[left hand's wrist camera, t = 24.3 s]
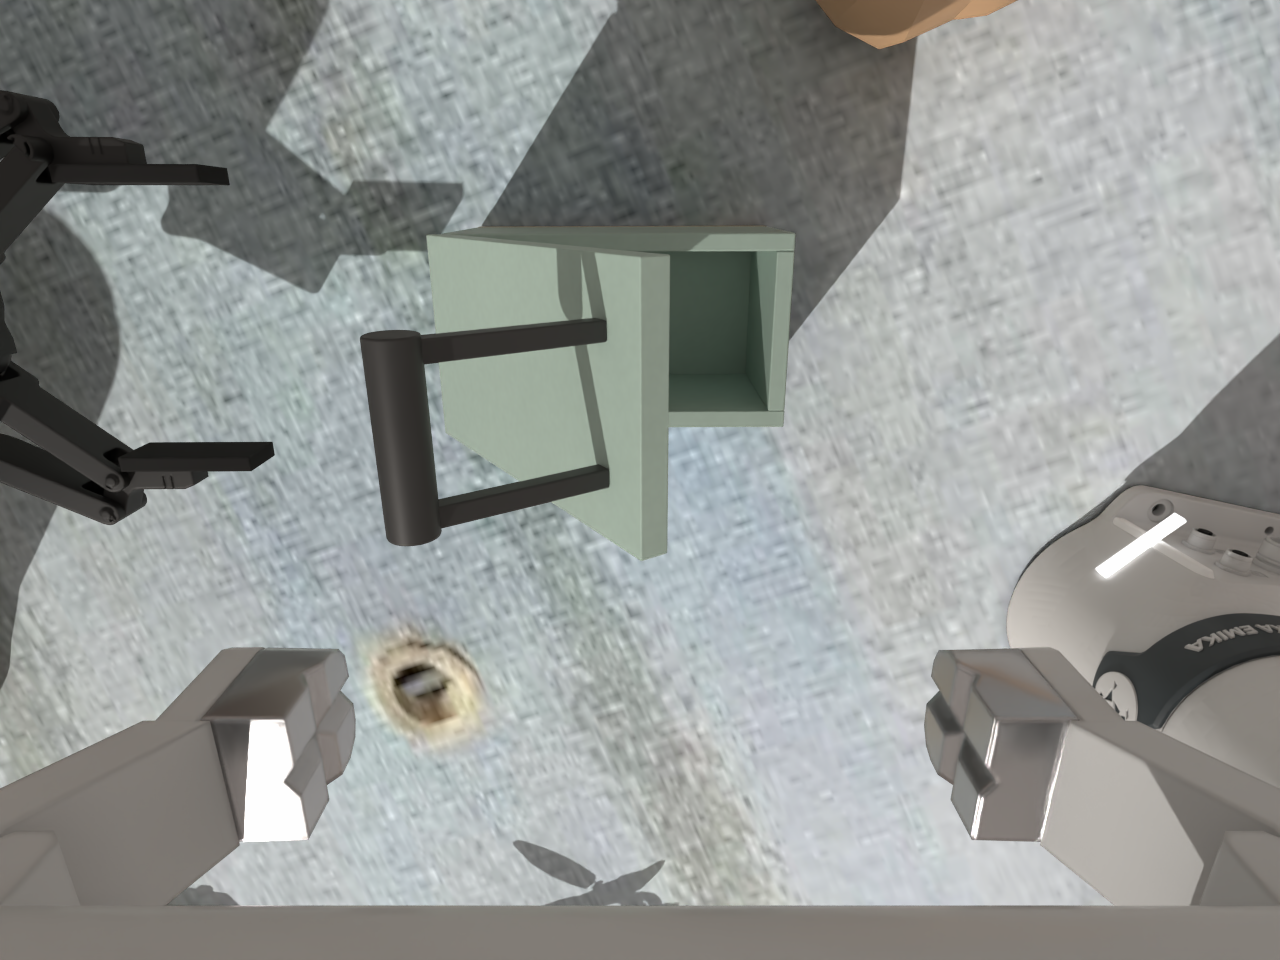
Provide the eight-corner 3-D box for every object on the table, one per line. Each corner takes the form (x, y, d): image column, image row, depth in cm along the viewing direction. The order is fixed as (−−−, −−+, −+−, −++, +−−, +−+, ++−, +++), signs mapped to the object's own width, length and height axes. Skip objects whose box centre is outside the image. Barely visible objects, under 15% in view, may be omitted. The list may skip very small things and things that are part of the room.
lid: (671, 254, 22) (376, 269, 17) (667, 553, 25) (420, 630, 21) (448, 234, 35) (251, 239, 31) (465, 429, 39) (289, 460, 34)
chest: (764, 225, 45) (796, 232, 36) (756, 383, 48) (783, 427, 39) (480, 226, 45) (440, 233, 36) (492, 384, 48) (457, 428, 39)
